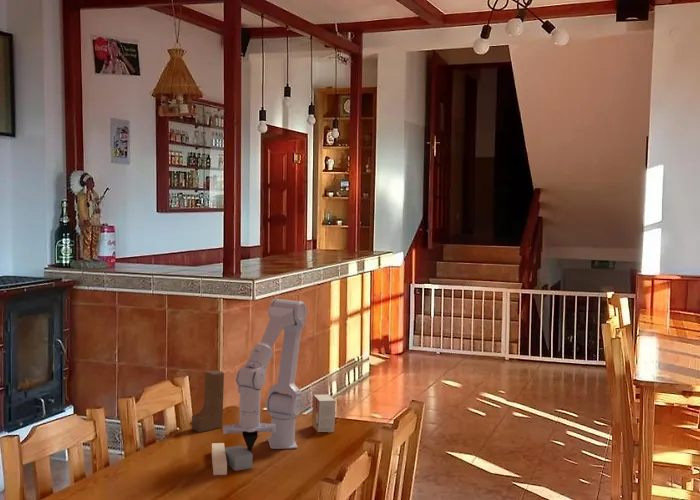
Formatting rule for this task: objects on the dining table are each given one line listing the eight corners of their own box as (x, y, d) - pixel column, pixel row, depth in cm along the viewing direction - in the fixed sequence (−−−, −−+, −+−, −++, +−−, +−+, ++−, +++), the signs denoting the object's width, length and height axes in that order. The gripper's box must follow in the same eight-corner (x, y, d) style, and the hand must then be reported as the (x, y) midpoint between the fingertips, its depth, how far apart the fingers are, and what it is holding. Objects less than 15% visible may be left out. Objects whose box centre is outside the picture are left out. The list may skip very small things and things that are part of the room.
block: (224, 461, 214) (225, 447, 213) (241, 459, 216) (242, 445, 216) (234, 470, 207) (235, 456, 206) (252, 468, 209) (252, 453, 209)
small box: (311, 425, 251) (312, 394, 250) (327, 425, 252) (329, 393, 252) (317, 433, 243) (319, 400, 242) (334, 432, 245) (336, 400, 244)
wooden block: (199, 432, 238) (200, 376, 237) (190, 429, 241) (192, 373, 240) (222, 427, 244) (224, 372, 243) (214, 424, 248) (216, 369, 246)
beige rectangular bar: (211, 452, 220) (211, 443, 220) (223, 452, 221) (224, 443, 221) (213, 475, 202) (213, 464, 202) (226, 474, 203) (227, 464, 203)
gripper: (224, 414, 207) (223, 463, 208) (277, 413, 210) (276, 461, 211) (222, 407, 214) (221, 455, 214) (274, 406, 217) (273, 453, 218)
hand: (248, 457), depth 213 cm, fingers closed, pressing on block
